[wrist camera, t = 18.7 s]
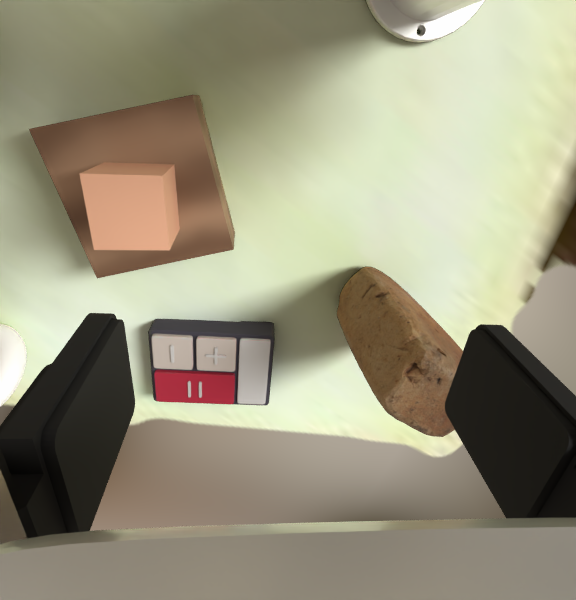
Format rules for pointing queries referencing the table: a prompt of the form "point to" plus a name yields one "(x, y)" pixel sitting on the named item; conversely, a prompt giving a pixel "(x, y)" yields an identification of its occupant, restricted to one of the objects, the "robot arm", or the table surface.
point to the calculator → (211, 361)
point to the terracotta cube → (131, 205)
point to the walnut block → (151, 150)
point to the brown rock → (399, 350)
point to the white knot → (10, 361)
